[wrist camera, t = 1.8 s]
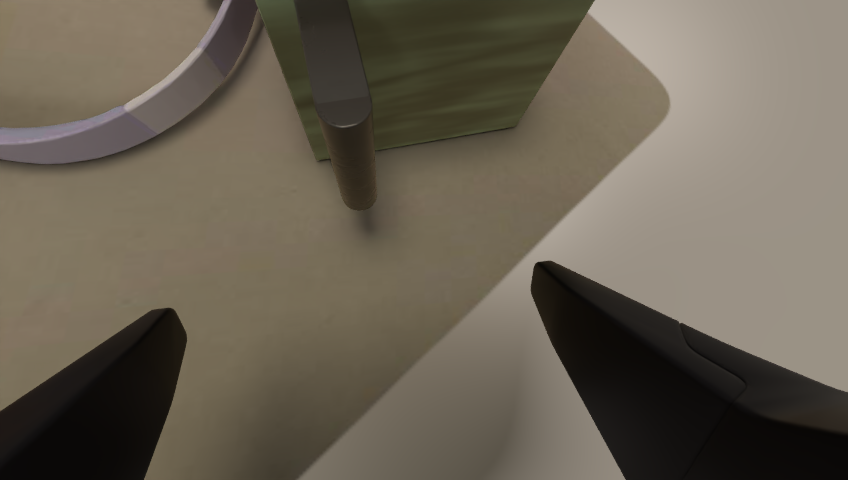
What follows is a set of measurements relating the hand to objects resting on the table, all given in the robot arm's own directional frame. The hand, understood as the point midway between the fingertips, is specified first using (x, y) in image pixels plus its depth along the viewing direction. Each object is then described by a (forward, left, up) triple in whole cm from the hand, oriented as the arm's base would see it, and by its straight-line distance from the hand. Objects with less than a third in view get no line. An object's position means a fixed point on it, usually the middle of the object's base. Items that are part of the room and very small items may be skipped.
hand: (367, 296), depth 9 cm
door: (+9, -3, -11) cm, 15 cm away
